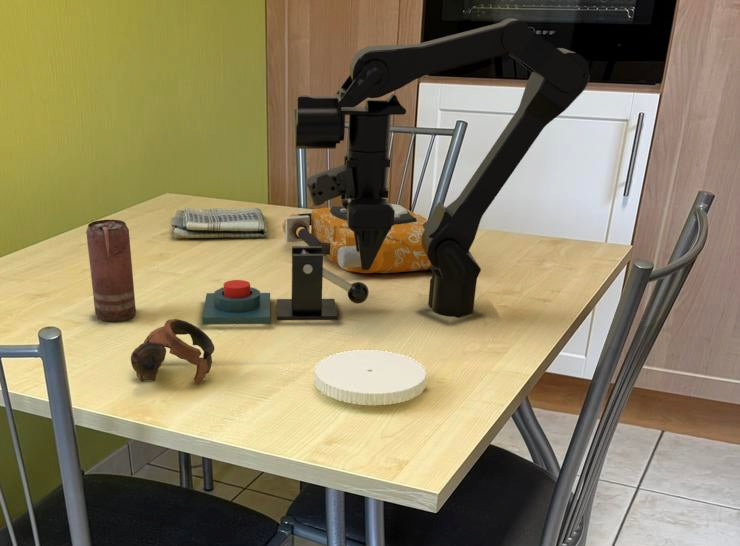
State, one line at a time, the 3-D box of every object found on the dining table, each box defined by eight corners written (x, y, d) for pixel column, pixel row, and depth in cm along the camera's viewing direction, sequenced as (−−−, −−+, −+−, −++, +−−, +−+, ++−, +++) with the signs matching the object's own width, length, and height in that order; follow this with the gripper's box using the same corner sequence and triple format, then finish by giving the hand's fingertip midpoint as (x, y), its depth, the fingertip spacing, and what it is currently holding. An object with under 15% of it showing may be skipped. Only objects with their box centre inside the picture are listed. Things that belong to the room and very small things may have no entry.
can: (98, 325, 137) (88, 231, 130) (93, 311, 143) (83, 219, 135) (139, 321, 139) (131, 227, 131) (132, 308, 144) (124, 216, 137)
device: (329, 240, 146) (275, 197, 170) (328, 291, 150) (275, 242, 175) (459, 228, 151) (389, 188, 175) (454, 278, 155) (386, 232, 180)
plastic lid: (413, 366, 123) (415, 348, 122) (434, 411, 112) (436, 392, 110) (309, 368, 123) (309, 350, 122) (319, 414, 111) (319, 395, 110)
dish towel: (262, 215, 192) (262, 199, 190) (268, 239, 177) (268, 222, 175) (173, 217, 191) (172, 201, 189) (171, 241, 176) (170, 224, 174)
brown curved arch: (158, 359, 127) (186, 310, 123) (205, 403, 125) (234, 355, 121) (101, 367, 117) (128, 314, 113) (150, 415, 115) (180, 362, 111)
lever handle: (360, 303, 141) (371, 285, 140) (361, 310, 139) (373, 292, 137) (293, 264, 138) (304, 245, 137) (293, 270, 136) (305, 251, 134)
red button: (250, 290, 141) (250, 279, 140) (250, 299, 137) (249, 288, 136) (224, 291, 141) (224, 279, 140) (223, 299, 137) (222, 288, 137)
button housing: (270, 303, 145) (270, 281, 144) (270, 328, 136) (270, 305, 134) (207, 303, 146) (206, 281, 144) (202, 328, 136) (201, 305, 134)
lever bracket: (334, 305, 144) (336, 243, 139) (337, 324, 137) (339, 258, 132) (276, 306, 144) (276, 243, 139) (276, 324, 137) (276, 258, 132)
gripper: (308, 136, 136) (306, 243, 144) (313, 162, 120) (310, 280, 128) (383, 136, 136) (377, 242, 144) (398, 162, 120) (390, 279, 128)
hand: (362, 260), depth 136 cm, fingers open, 9 cm apart
